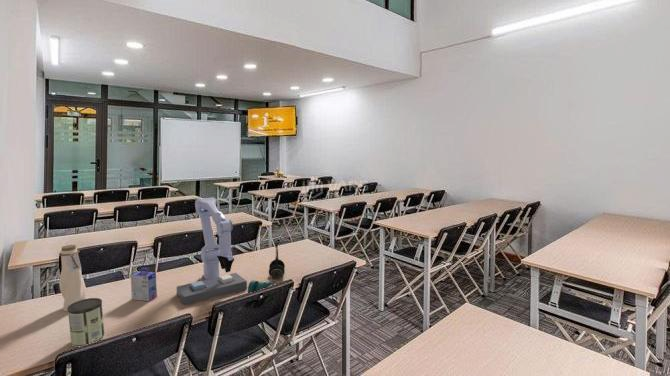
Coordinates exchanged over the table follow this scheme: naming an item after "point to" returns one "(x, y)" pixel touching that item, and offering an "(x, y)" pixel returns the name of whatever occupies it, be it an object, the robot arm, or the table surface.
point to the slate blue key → (197, 286)
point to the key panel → (210, 289)
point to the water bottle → (71, 276)
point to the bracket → (259, 285)
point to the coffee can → (86, 321)
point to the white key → (226, 279)
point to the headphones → (276, 266)
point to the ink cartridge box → (143, 285)
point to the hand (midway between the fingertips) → (225, 270)
